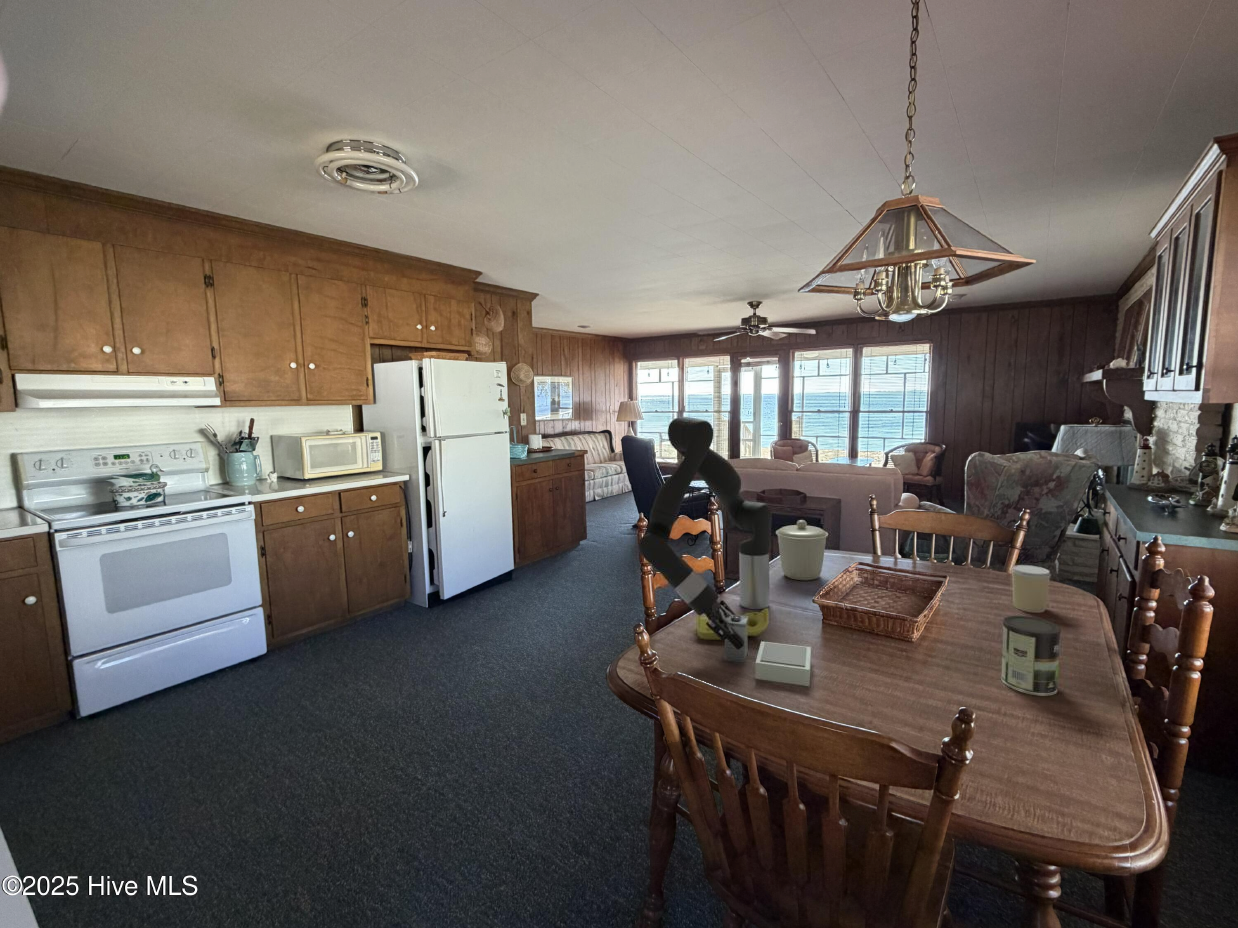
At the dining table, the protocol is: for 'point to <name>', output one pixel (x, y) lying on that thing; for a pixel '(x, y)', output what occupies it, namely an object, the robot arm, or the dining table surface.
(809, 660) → the stand
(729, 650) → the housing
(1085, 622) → the dining table surface
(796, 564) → the canister
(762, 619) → the plastic component
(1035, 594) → the cream jar
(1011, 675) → the coffee can
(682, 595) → the robot arm
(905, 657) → the dining table surface
